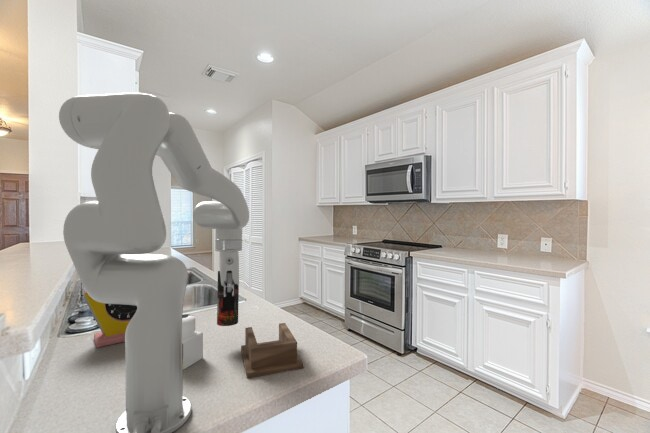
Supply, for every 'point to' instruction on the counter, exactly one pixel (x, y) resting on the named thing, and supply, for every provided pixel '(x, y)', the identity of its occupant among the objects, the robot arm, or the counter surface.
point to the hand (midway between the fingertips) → (227, 306)
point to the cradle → (270, 353)
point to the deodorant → (222, 316)
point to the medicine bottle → (190, 342)
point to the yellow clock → (110, 320)
